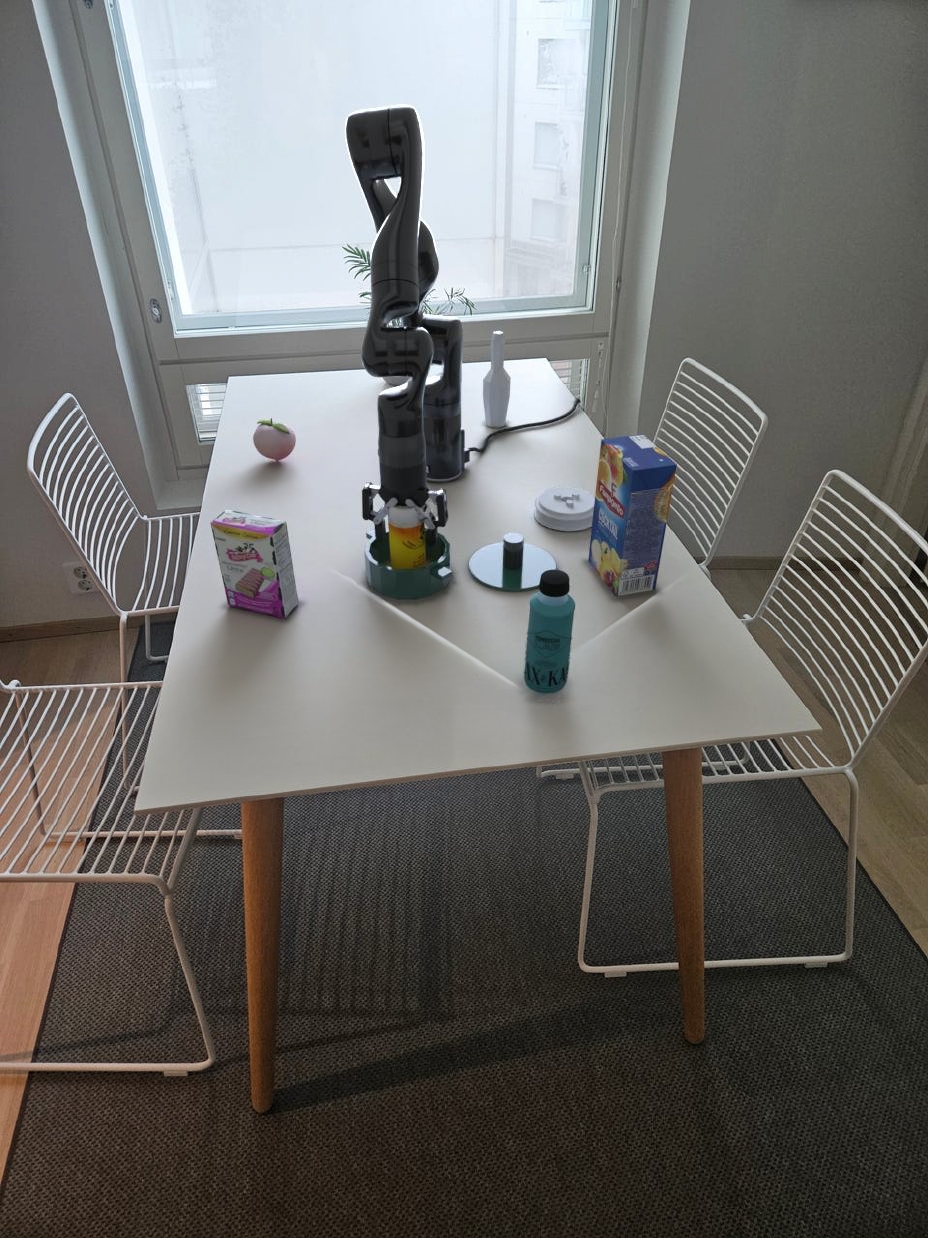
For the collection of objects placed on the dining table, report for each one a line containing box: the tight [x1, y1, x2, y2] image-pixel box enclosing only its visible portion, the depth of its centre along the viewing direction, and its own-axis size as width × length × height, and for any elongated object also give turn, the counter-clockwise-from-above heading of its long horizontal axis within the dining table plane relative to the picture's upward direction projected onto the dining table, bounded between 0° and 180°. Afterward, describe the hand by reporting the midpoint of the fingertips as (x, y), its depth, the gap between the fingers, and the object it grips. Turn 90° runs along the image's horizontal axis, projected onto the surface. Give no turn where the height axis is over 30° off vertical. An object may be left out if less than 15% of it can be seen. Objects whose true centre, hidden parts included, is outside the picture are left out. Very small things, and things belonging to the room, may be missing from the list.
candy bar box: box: [209, 508, 299, 619], centre depth 130 cm, size 11×5×16 cm, turn 71°
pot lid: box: [468, 532, 557, 593], centre depth 142 cm, size 16×16×7 cm
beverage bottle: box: [522, 569, 576, 695], centre depth 113 cm, size 6×7×20 cm
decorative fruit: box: [252, 417, 297, 462], centre depth 177 cm, size 9×8×10 cm
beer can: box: [387, 505, 427, 569], centre depth 137 cm, size 6×6×15 cm
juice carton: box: [587, 433, 678, 597], centre depth 135 cm, size 12×8×24 cm, turn 16°
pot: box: [364, 527, 454, 601], centre depth 140 cm, size 15×20×6 cm
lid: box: [533, 486, 595, 532], centre depth 157 cm, size 13×13×5 cm
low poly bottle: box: [482, 330, 511, 429], centre depth 190 cm, size 6×6×22 cm
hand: (406, 543), depth 137 cm, fingers open, 8 cm apart
